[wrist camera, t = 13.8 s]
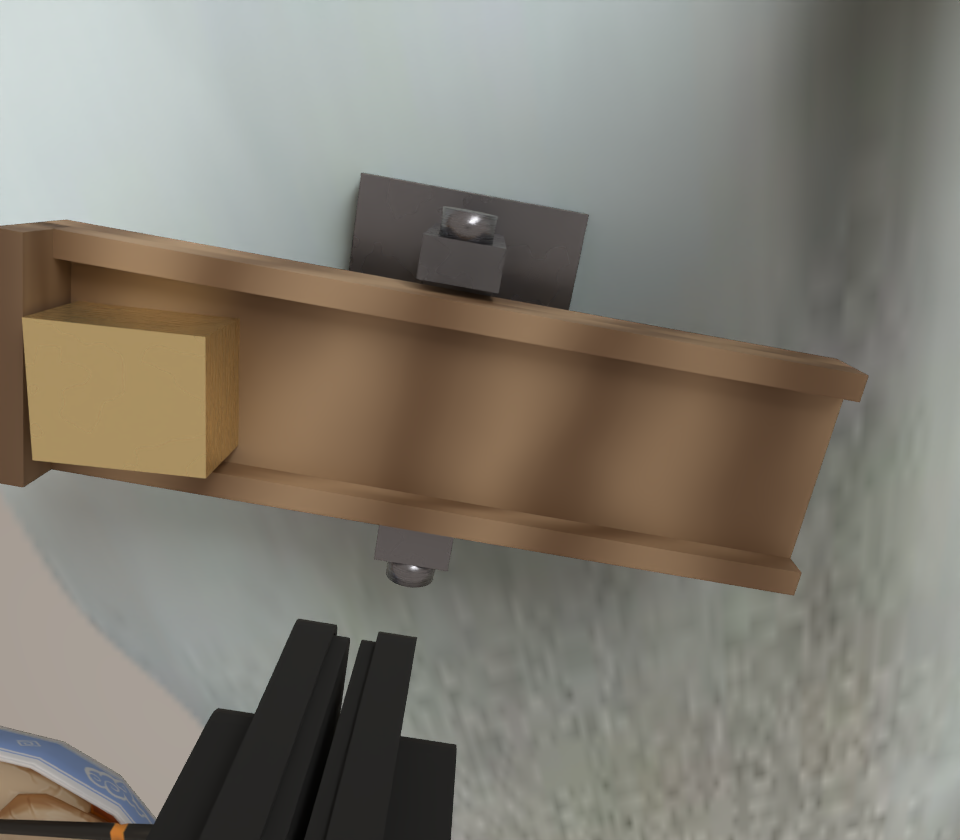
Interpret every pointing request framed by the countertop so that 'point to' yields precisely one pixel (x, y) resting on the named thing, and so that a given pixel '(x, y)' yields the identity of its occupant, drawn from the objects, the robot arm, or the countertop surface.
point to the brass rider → (132, 388)
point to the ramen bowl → (63, 794)
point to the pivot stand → (459, 283)
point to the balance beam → (462, 407)
